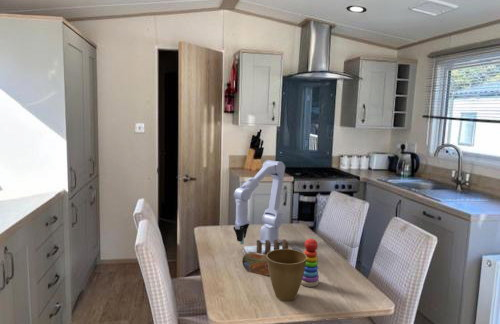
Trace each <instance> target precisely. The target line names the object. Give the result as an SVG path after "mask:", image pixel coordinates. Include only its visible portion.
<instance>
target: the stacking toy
mask: <svg viewBox="0 0 500 324" xmlns="http://www.w3.org/2000/svg"><path fill="white" fill-rule="evenodd" d="M318 245H319V244H318V242H317V240H315V239H314V238H308V239H306V241H305V242H304V247H305V250H304V252H303V253H304V254H305V255H306V256H307V260H306V266H305V270H304V275H303V278H302V282H301V285H302V286H305V287H309V288H312V287H316V286H318V285H319V282H320V280H319V278H320V277H319V276H320V275H319V266H318V264H319V263H318V256H317V255H318V252H317V249H318Z"/></svg>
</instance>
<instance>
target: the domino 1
mask: <svg viewBox="0 0 500 324" xmlns="http://www.w3.org/2000/svg"><path fill="white" fill-rule="evenodd" d="M242 228H243V227H242ZM244 240H245V238H244V233H243V239H242V242H240V241H238V243H239V244H240V245H244V242H245V241H244Z"/></svg>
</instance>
